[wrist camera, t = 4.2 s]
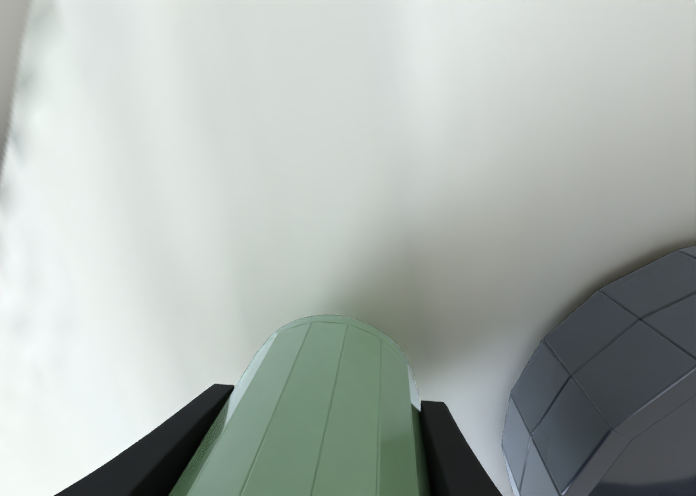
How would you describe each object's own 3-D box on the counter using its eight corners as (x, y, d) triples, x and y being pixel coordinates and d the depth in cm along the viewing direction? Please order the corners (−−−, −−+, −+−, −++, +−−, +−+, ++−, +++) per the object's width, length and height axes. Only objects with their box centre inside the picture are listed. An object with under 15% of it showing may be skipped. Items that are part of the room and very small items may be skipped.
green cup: (411, 460, 12) (432, 744, 6) (258, 445, 13) (153, 696, 7) (422, 319, 11) (462, 530, 5) (247, 308, 11) (98, 488, 5)
